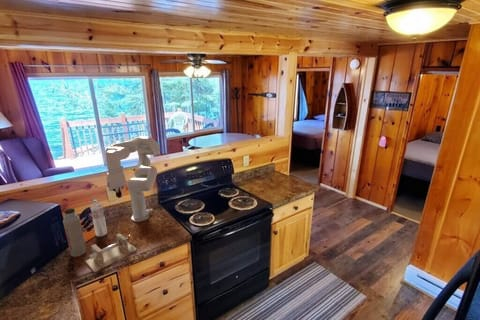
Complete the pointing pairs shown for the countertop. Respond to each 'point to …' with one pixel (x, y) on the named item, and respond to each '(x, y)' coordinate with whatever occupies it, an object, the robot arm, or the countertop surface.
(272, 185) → the countertop surface
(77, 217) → the thermos bottle
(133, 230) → the countertop surface
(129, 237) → the shaft
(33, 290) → the countertop surface
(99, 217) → the water bottle
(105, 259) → the bracket
